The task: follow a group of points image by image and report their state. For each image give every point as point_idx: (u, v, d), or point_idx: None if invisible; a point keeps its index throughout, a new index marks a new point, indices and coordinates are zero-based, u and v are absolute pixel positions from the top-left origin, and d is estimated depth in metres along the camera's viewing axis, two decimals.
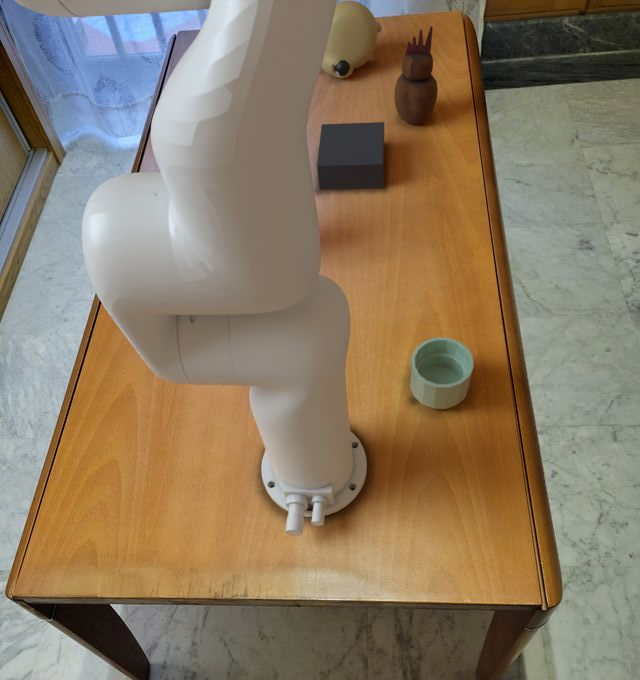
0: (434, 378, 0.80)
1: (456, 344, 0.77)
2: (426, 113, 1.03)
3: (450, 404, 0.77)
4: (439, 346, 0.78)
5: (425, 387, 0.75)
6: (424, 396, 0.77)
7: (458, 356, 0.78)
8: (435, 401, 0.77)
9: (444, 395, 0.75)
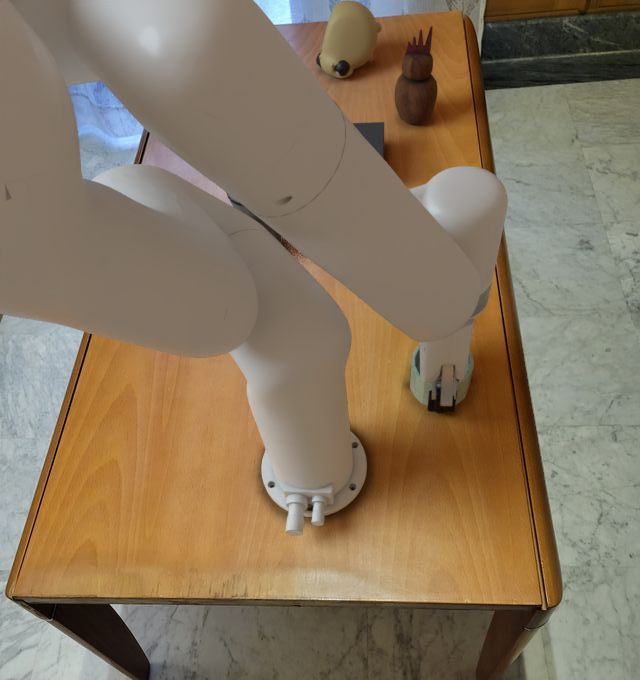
0: None
1: None
2: (426, 113, 1.03)
3: None
4: None
5: (425, 387, 0.75)
6: (424, 396, 0.77)
7: None
8: None
9: None
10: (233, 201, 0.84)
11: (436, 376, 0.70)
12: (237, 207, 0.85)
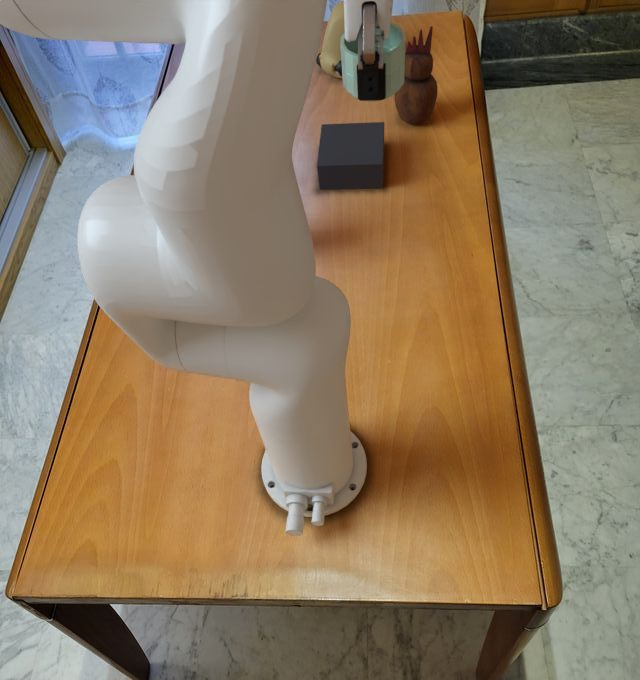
0: None
1: None
2: (426, 113, 1.03)
3: None
4: None
5: (354, 63, 0.71)
6: (354, 81, 0.73)
7: (392, 45, 0.74)
8: None
9: None
10: None
11: (358, 25, 0.66)
12: None
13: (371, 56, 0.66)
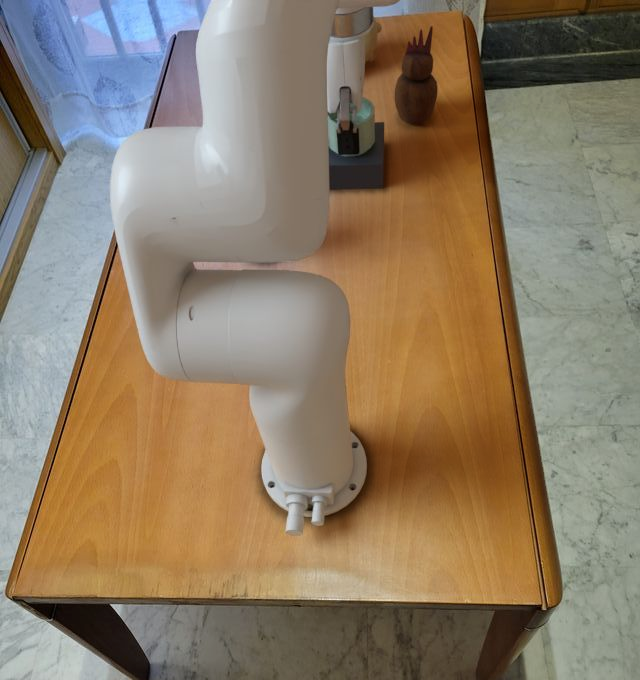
0: None
1: (362, 100, 0.95)
2: (426, 113, 1.03)
3: None
4: (350, 105, 0.97)
5: (335, 130, 0.93)
6: (336, 142, 0.95)
7: (365, 113, 0.97)
8: None
9: None
10: None
11: (337, 99, 0.87)
12: None
13: (346, 123, 0.86)
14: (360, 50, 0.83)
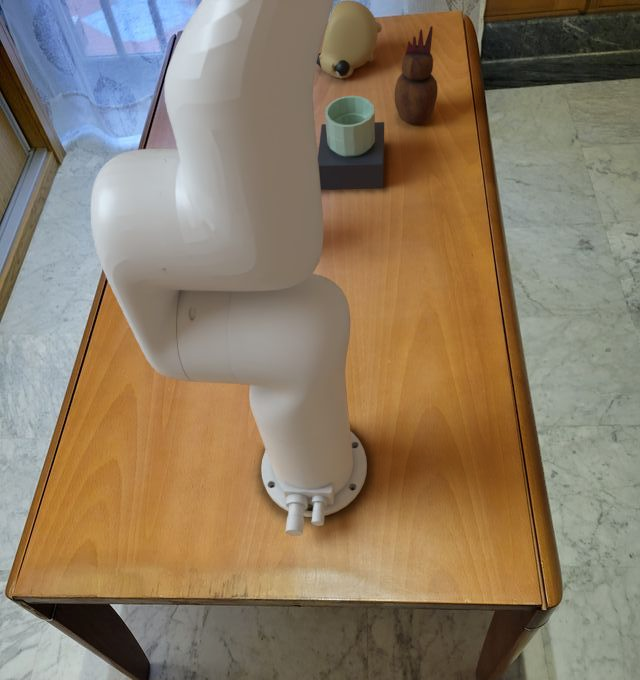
0: None
1: (362, 100, 0.95)
2: (426, 113, 1.03)
3: (358, 150, 0.96)
4: (350, 105, 0.97)
5: (335, 130, 0.93)
6: (336, 142, 0.95)
7: (365, 113, 0.97)
8: (345, 146, 0.95)
9: (351, 137, 0.94)
10: None
11: None
12: None
13: None
14: None
